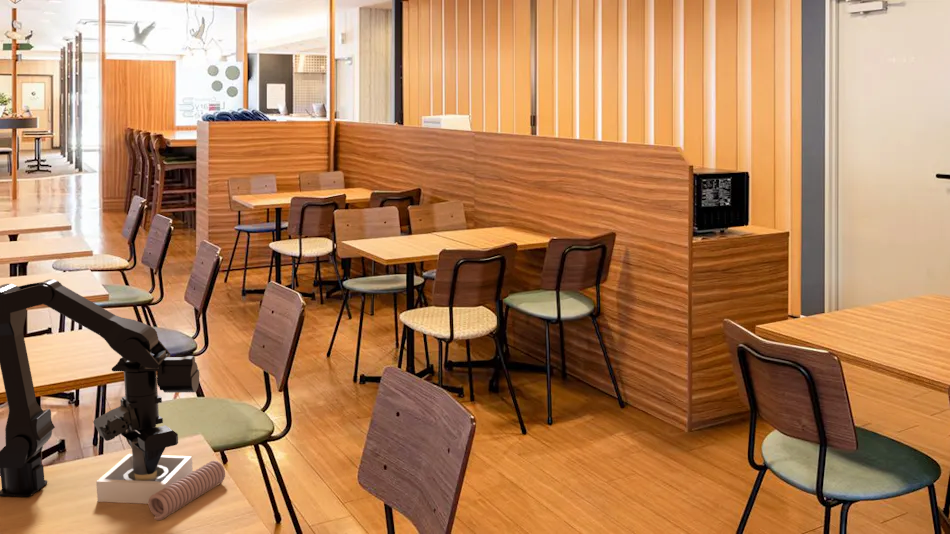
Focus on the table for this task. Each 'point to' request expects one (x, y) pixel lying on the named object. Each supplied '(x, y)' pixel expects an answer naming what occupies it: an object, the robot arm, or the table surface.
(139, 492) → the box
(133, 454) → the plug
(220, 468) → the coil
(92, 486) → the table surface
